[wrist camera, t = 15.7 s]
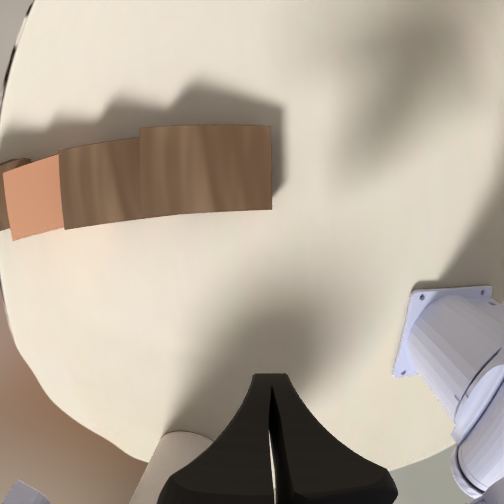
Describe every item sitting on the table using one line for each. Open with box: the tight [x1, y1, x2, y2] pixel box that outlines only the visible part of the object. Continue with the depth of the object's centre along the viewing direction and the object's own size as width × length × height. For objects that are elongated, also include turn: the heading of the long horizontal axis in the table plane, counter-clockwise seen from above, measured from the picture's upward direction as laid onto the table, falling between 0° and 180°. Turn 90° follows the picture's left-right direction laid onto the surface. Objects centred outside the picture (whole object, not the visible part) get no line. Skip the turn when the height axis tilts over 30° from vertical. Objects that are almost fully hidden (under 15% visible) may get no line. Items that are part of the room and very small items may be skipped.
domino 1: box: [140, 125, 272, 217], centre depth 17 cm, size 2×5×8 cm
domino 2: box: [59, 137, 178, 230], centre depth 17 cm, size 2×5×8 cm
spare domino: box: [3, 154, 64, 241], centre depth 17 cm, size 2×5×8 cm
